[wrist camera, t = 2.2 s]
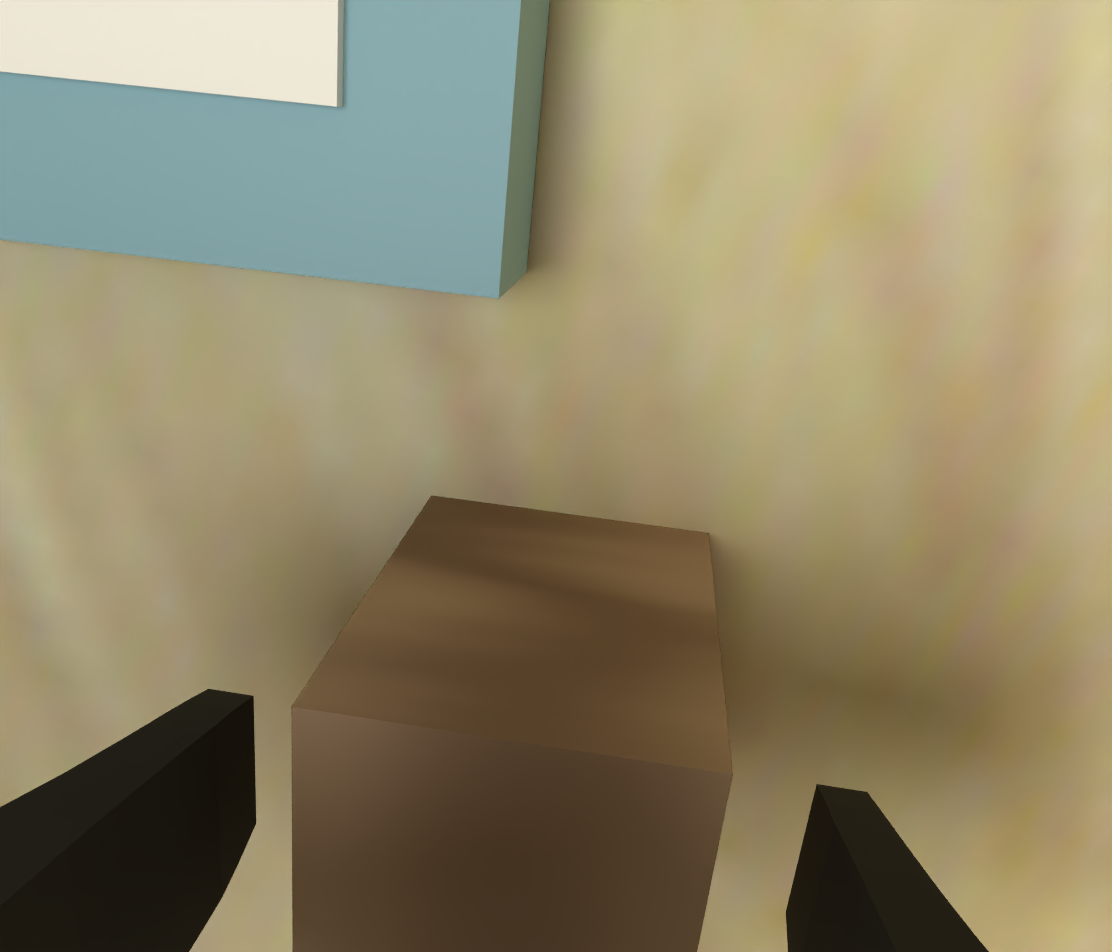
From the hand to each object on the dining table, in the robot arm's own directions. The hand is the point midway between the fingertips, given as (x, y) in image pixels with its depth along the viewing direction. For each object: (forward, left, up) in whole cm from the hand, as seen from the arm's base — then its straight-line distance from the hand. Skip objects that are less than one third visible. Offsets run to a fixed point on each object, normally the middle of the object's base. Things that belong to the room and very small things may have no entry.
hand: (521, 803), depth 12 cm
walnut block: (0, 0, -4) cm, 4 cm away
